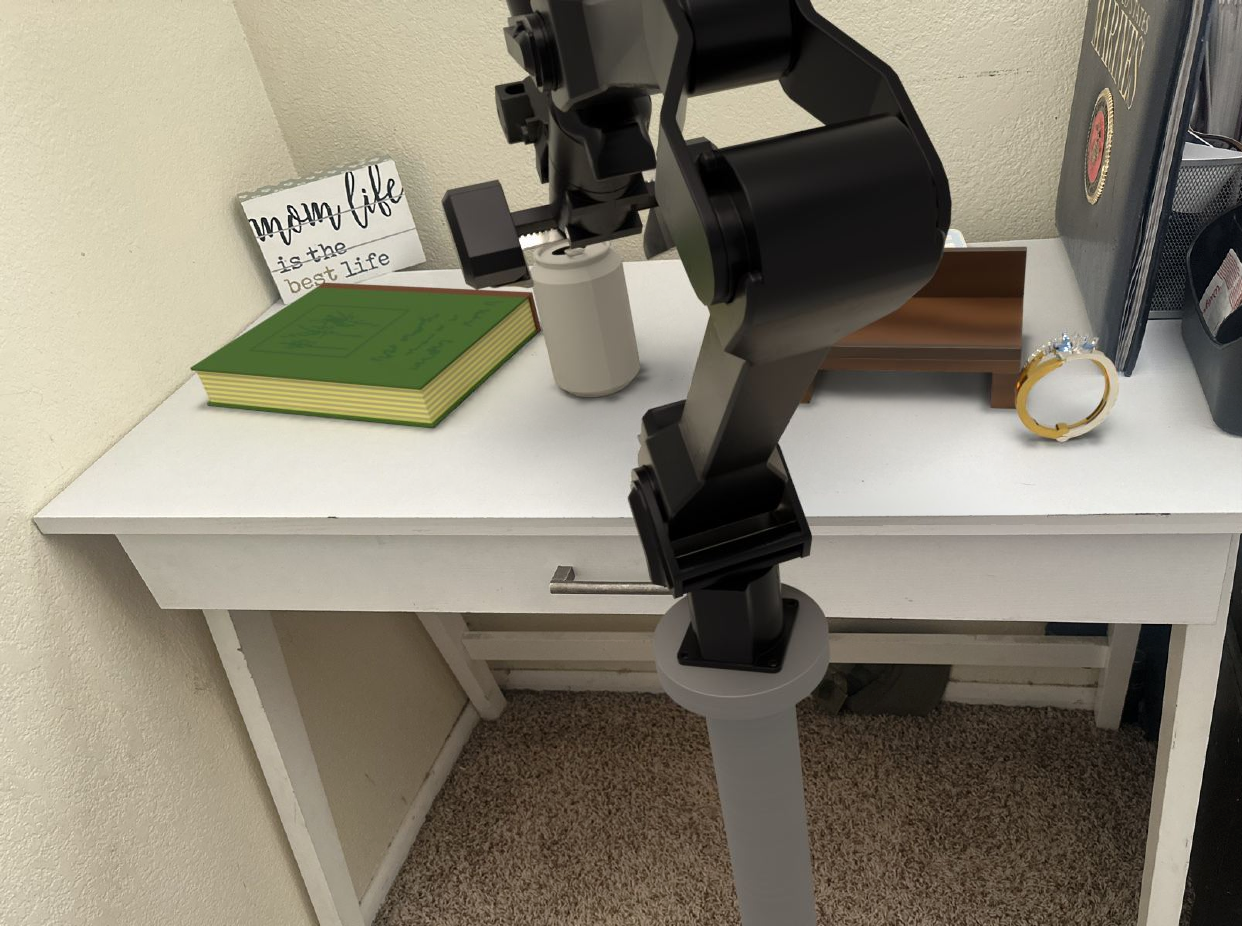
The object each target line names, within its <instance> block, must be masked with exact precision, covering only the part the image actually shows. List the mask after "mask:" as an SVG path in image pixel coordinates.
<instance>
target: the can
mask: <svg viewBox="0 0 1242 926" xmlns="http://www.w3.org/2000/svg"><path fill="white" fill-rule="evenodd" d="M611 246H612V242H611V240H610V241H606V242H602V243H597V244H593V245H588V246H584V247H580V248H575V249H571V248H570V245H569V242H568V241H565V242H561V243H557V244H552V245H548V246H543V247H539V248H535V249H534V251H533V253H532V256H533V259H534V260H535V261H534V263H533V264H532V266H531V268H530V272H531V275H532V279H533V282H534V286H533V287H532V291H533V292H532V293H533V297H534V301H535V306H536V310H537V314H538V318H539V323H540V327H541V330H542V334H543V338H544V342H545V347H546V351H547V356H548V360H549V363H550V368H551V373H552V376H553V380H554V383H555V385H557V386H558V387H559V388H561V389H562V390H564V391H566V392H568V393H570V394H571V395H573V396H577V397H581V398H597V397H603V396H607V395H608V396H609V395H611V394H614V393H617V392H619V391H622V390H623V389H625V388H626V387H627V386H629V385H630V383H632V381H633V379H634V378H635V377H636V376H637V375H638V373H639V372H640V370H641V360H640V353H639V348H638V343H637V337H636V331H635V327H634V320H633V314H632V309H631V304H630V297H629V292H628V291H629V290H628V286H627V280H626V275H625V268H624V263H623V258H622V257H621V255H620V254H619V252H617V251H615V250H614V249H613V248H612V247H611Z"/></svg>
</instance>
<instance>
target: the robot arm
mask: <svg viewBox="0 0 1242 926" xmlns="http://www.w3.org/2000/svg"><path fill="white" fill-rule="evenodd" d="M505 3H506V6H507V9H508V11H509V14H510V16H508V17H507V25H508V26H505V27H502V32H503V35H504V40H505V45H506V49H507V54H509V55H510V56H511V58H512V59H513V60H514V61H515V62H516V63H517V64H518V65H519V66H520V68H521V69H522V70H523V71H525V72H526V73H527V74H528V75H527V76H526V77H524V78H523V80H517V81H512V82H506V83H501V84H495V86H494V101H495V106H496V112H497V117H498V121H499V124H500V128H501V130H502V132H503V135H504V137H505V139H506V142H507V144H509V145H514V144H516V145H517V144H520V143H523V144H524V145H525V146H528V145H533V148H534V151H535V152H534V153H535V170H536V172H537V175H538V179H539V182H540V184H541V185H544V184H548V204H544V205H543V204H542V205H540V206H539V205H538V206H535V207H529V208H524V209H520V210H516V211H512V212H511V209H510V207H509V204H508V201H507V197H506V194H505V192H504V188H503V185H502V183H501V182H500V180H499V179H494V180H489V181H484V182H478V183H474V184H470V185H465V186H460V187H454V188H450V189H446V191H445V192H444V195H443V197H442V199H441V200H440V201H441V202H440V203H441V208H442V212H443V217H444V220H445V222H446V225H447V229H448V232H449V235H450V238H451V241H452V245H453V248H454V251H455V253H456V257H457V261H458V264H459V266H460V269H461V273H462V276H463V279H464V282H465V285H467V286H468V287H471V288H473V290H483V289H487V288H491V289H500V288H504V287H506V288H507V287H510V288H511V287H512V288H513V287H515V288H524V289H531V288H532V289H533V286H534V282H533V279H532V275H531V272H530V270H531V268H530V266H529V263H528V261H527V258H526V255H525V251H529V250H535V249H536V248H539V247H543V246H548V245H552V244H557V243H561V242H565V241H568V242H569V245H570V248H571V249H575V248H580V247H584V246H588V245H593V244H597V243H602V242H606V241H610V242H611V241H615V240H619V239H622V238H627V237H632V236H635V235H640V234H642V233H643V238H642V239H643V240H642V241H643V242H642V249H643V253H644V255H645V258H646V260H647V261H652V260H654V259H657V258H659V257H662V256H664V255H667V254H669V253H671V252H674V251H677V253H678V257H679V258H680V261H681V264H682V266H683V269H684V271H685V273H686V276H687V278H688V281H689V283H690V285H691V287H692V289H693V292H694V293H695V295H696V297H697V299H698V300H699V301H700V302H701V304H702V305H703V306H704V307H707V310H708V313H709V317H708V320H707V324H706V328H705V331H704V333H703V338H702V342H701V345H700V349H699V352H698V356H697V360H696V363H695V367H694V370H693V374H692V378H691V382H690V385H689V389H688V392H687V396H686V398H685V399H681V400H678V401H674V402H671V403H667V404H663V405H660V406H655V407H651V408H648V409H647V411H646V412H645V413H644V414H643V416H642V417H641V431H640V433H639V434H637V435H636V437H637V440H638V443H639V444H640V447H639V449H638V451H637V466H638V467H635V468H634V467H633V468H632V469H631V470H630V477H631V482H630V484H629V487H630V492H629V493H628V495H627V503H628V506H629V508H630V512H631V515H632V518H633V521H634V526H635V529H636V531H637V535H638V538H639V541H640V544H641V548H642V550H643V554H644V558H645V562H646V566H647V572H648V576H649V580H650V582H651V584H652V585H654V586H659V587H663V588H664V589H665V588H667V589H668V591H669V592H670V594H671V596H672V597H673V599H674V600H676V599H679V598H683V597H684V595H686V596H687V600H688V605H689V611H690V617H691V621H690V624H689V626H688V629H687V631H686V634H685V636H684V638H683V641H682V643H681V646H680V648H679V651H678V653H677V661H678V663H679V664H680V665H683V666H693V667H704V668H715V669H726V670H737V671H748V672H759V673H770V674H776V673H779V672H780V671H781V670H782V668H783V664H784V661H785V657H786V654H787V650H788V647H789V643H790V640H791V636H792V633H793V629H794V626H795V623H796V619H797V616H798V612H799V601H798V600H797V599H793V598H782V590H781V583H782V582H781V571H780V565H781V564H783V563H786V562H789V561H793V560H796V559H799V558H800V559H805V558H807V557H810V556H811V549H812V543H813V533H812V532H811V528H810V525H809V523H808V519H807V516H806V514H805V511H804V508H803V505H802V503H801V500H800V498H799V495H798V492H797V489H796V486H795V483H794V482H793V478H792V475H791V473H790V470H789V467H788V464H787V462H786V459H785V456H784V453H783V450H782V448H781V445H780V444H779V442H780V440H781V439H782V436H783V435H784V433H785V431H786V430H787V427H788V426H789V424H790V422H791V420H792V419H793V417H794V414H795V413H796V411H797V409H798V407H799V406H800V404H801V403H800V402H801V400H802V398H803V396H804V395H805V393H806V391H807V389H808V387H809V386H810V384H811V382H812V380H813V378H814V377H815V375H816V373H817V371H818V369H819V368H820V366H821V364H822V362H823V360H824V359H825V357H826V355H827V353H828V351H829V349H830V348H831V346H832V345H833V344H834V343H835V342H836V341H838V340H839V339H841V338H843V337H845V336H847V335H849V334H851V333H853V332H855V331H857V330H859V329H861V328H863V327H865V326H867V325H868V324H870V323H872V322H874V321H876V320H878V319H880V318H882V317H884V316H886V315H888V314H890V313H892V312H894V311H895V310H897V309H898V308H899V307H901V306H902V305H903V304H904V303H905V302H906V301H907V300H909V299H910V298H911V297H912V296H913V295H914V294H916V293H917V292H918V291H919V290H920V289H921V288H922V287H924V286H925V285H926V284H927V283H928V282H929V281H930V280H931V278H932V277H933V276H934V274H935V272H936V270H937V268H938V265H939V263H940V260H941V258H942V256H943V251H944V246H945V241H946V238H947V234H948V231H949V229H951V225H952V208H953V207H952V206H953V205H952V204H953V202H952V196H951V195H952V194H951V188H950V183H949V178H948V176H947V173H946V170H945V167H944V164H943V161H942V160H941V158H940V156H939V154H938V152H937V149H936V147H935V146H934V144H933V142H932V139H931V138H930V135H929V134H928V131H927V130H926V127H925V126H924V124H923V121H922V120H921V118H920V116H919V114H918V112H917V111H916V108H915V106H914V104H913V101H912V100H911V98H910V96H909V94H908V92H907V90H906V88H905V86H904V85H903V82H902V80H901V78H900V76H899V74H898V73H897V72H896V71H895V70H894V69H893V67H892V66H891V65H889V63H887V62H885V61H884V60H882V59H881V57H878V55H876V54H875V53H873V52H872V51H870V50H869V49H868V48H866V47H865V46H863V45H862V44H861V43H859V42H858V41H857V40H855V39H854V38H853V37H852V36H850V34H848V33H846V32H845V31H843V30H842V29H840V28H839V27H838V26H837V25H835V24H834V23H832V22H831V21H829V20H828V19H827V18H825V17H824V16H823V15H821V14H820V13H819V12H818V11H817V10H816V9H815V7H814V5H813V3H812V1H811V0H505ZM775 81H778V82H779V85H780V86H781V89H782V91H783V92H784V94H785V95H786V96H787V97H788V98H789V100H791V101H792V102H794V103H795V104H796V105H798V107H800V108H801V109H802V110H804V111H806V112H807V113H808V114H809V115H811V116H812V117H813V118H814V119H816V120H818V121H819V122H820V123H822V124H823V125H821V126H817V127H812V128H807V129H803V130H798V131H794V132H789V133H785V134H779V135H775V136H770V137H766V138H765V137H764V138H760V139H757V140H752V141H747V142H742V143H738V144H733V145H729V146H724V147H720V148H719V147H718V145H716V144H715V143H714V142H712V141H711V140H710V139H708V138H707V137H705V136H700V137H694V138H689V139H685V137H684V136H683V135H684V134H683V131H684V127H685V123H686V116H687V107H688V100H689V98H695V97H700V96H704V95H710V94H715V93H720V92H725V91H730V90H735V89H740V88H745V87H750V86H755V85H760V84H765V83H770V82H775ZM659 94H662V96H663V99H662V103H661V107H660V111H659V124H658V137H657V146H656V150H655V148H654V144H653V142H652V139H651V136H650V127H651V120H652V115H653V113H652V112H653V105H652V104H653V101H652V98H651V96H655V95H659ZM655 151H656V152H655ZM645 210H648V215H647V219H646V223H645V228H644V224H643V222H642V218H641V216H640V213H639V212H641V211H645ZM643 229H644V232H643ZM684 657H687V658H684ZM772 665H775V666H772Z"/></svg>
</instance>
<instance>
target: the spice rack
mask: <svg viewBox="0 0 1242 926" xmlns="http://www.w3.org/2000/svg"><path fill="white" fill-rule="evenodd" d="M1027 254H1028V246H972V247H971V246H970V247H968V246H967V247H956V248H944V251H943V256H942V258H941V260H940V263H939V265H938V268H937V270H936V272H935V274H934V276H933V277H932V278H931V280H930V281H929V282H928V283H927V284H926V285H925V286H924V287H922V288H921V289H920V290H919V291H918V292H917V293H916V294H914V295H913V296H912V297H911V298H910V299H909V300H907V301H906V302H905V303H904V304H903V305H902V306H901V307H899V308H898V309H897V310H895V311H894V312H892V313H890V314H888V315H886V316H884V317H882V318H880V319H878V320H876V321H874V322H872V323H870V324H868V325H867V326H865V327H863V328H861V329H859V330H857V331H855V332H853V333H851V334H849V335H847V336H845V337H843V338H841V339H839V340H838V341H836V342H835V343H834V344H833V345H832V346H831V348H830V349H829V351H828V353H827V355H826V357H825V359H824V360H823V362H822V364H821V366H820V368H819V369H818V371H817V373H816V375H815V377H814V378H813V380H812V382H811V384H810V386H809V387H808V389H807V391H806V393H805V395H804V396H803V398H802V400H801V402H800V404H809V403H810V402H811V400H812V396H813V394H814V391H815V388H816V386H817V383H818V380H819V378H820V375H821V372H822V370H830V371H831V370H833V371H834V370H836V371H838V370H839V371H887V372H888V371H889V372H890V371H892V372H893V371H895V372H896V371H897V372H949V373H951V372H952V373H953V372H954V373H955V372H956V373H960V372H961V373H991V385H990V386H991V389H990V408H991V409H992V408H993V409H995V408H996V409H997V408H999V409H1016V405H1015V399H1014V390H1015V385H1016V381H1017V378H1018V376H1019V373H1020V371H1021V365H1022V350H1023V349H1022V348H1023V345H1022V343H1023V321H1024V300H1025V299H1024V298H1025V285H1026V272H1027V271H1026V270H1027V269H1026V267H1027V256H1028V255H1027Z"/></svg>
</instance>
